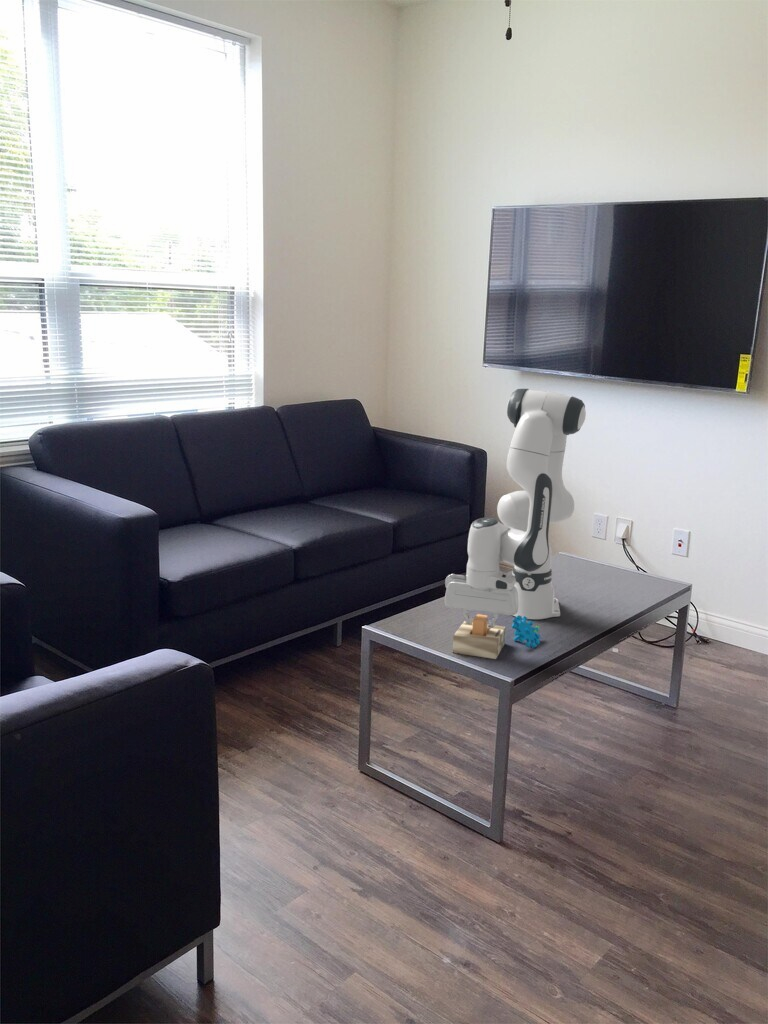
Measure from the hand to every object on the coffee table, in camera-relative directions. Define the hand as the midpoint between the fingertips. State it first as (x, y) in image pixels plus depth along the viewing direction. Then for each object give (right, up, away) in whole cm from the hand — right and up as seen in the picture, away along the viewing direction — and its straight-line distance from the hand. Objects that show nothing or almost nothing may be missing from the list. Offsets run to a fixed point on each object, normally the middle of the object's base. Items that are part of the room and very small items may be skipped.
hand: (480, 625), depth 238 cm
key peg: (0, -7, +1) cm, 7 cm away
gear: (+14, -6, +6) cm, 16 cm away
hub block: (0, -6, +1) cm, 7 cm away
